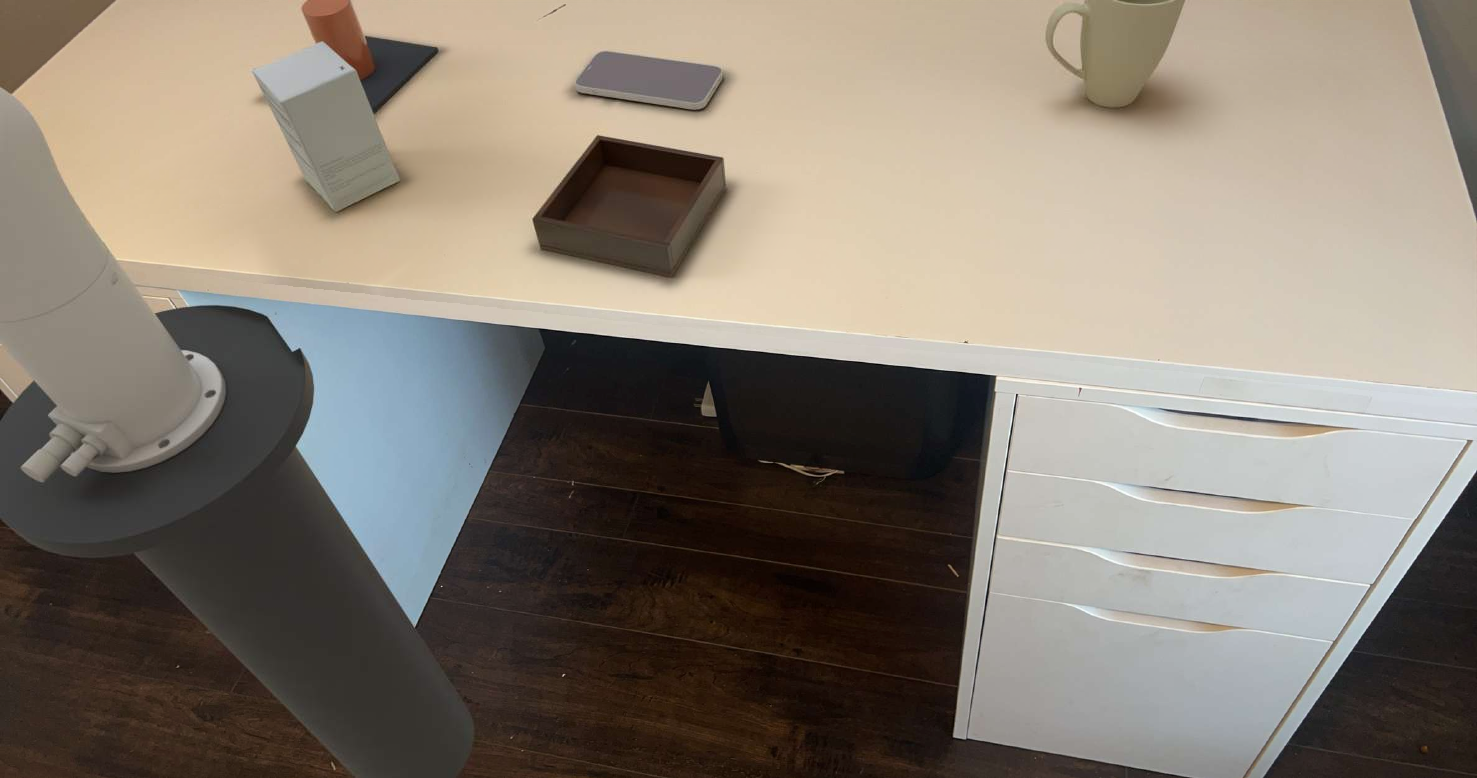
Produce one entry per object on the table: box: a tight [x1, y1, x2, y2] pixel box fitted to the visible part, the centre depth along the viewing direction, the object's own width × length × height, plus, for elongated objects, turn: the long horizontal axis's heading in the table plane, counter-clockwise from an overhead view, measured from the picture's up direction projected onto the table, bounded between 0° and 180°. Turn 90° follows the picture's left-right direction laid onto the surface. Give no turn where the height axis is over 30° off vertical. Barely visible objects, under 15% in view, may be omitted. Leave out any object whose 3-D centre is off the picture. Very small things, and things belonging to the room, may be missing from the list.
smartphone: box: [574, 50, 724, 111], centre depth 107 cm, size 7×1×15 cm
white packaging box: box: [251, 42, 401, 213], centre depth 95 cm, size 7×7×13 cm
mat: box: [360, 35, 439, 115], centre depth 113 cm, size 14×14×1 cm
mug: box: [1045, 0, 1186, 109], centre depth 96 cm, size 11×10×12 cm
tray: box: [531, 134, 727, 278], centre depth 92 cm, size 13×13×4 cm
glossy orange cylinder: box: [300, 0, 375, 80], centre depth 110 cm, size 5×5×8 cm
